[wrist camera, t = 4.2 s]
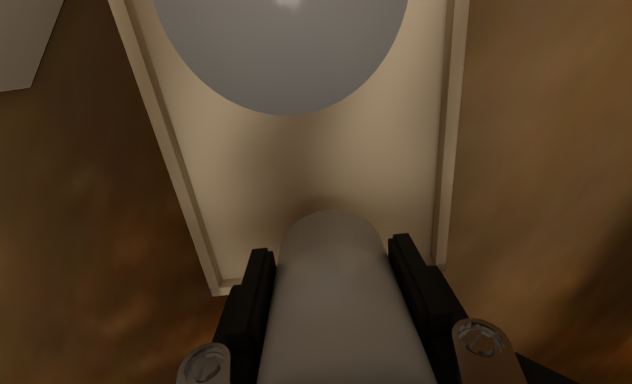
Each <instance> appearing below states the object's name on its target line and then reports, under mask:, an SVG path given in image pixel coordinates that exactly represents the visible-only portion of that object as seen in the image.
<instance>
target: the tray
mask: <svg viewBox="0 0 632 384" xmlns="http://www.w3.org/2000/svg"><path fill="white" fill-rule="evenodd" d="M469 1H470V0H408V3H407V7H406V11H405V14H404V18H403V21H402V24H401V27H400V29H399V32H398V34H397V36H396V39H395V41H394V43H393V45H392V47H391V48H390V50H389V52H388V54H387V56H386V57H385V59H384V60H383V61H382V63H381V64H380V66H379V67H378V68H377V70H376V71H375V72H374V73H373V74H372V75H371V76H370V78H369V79H368V80H367V81H366V82H365V83H364V84H363V85H361V86H360V87H359V88H358V89H357V90H356V91H354V92H353V93H352V94H350V95H349V96H347V97H346V98H344V99H343V100H341V101H339V102H337V103H335V104H333V105H331V106H329V107H327V108H324V109H321V110H318V111H315V112H311V113H306V114H301V115H286V116H284V115H270V114H265V113H261V112H256V111H253V110H250V109H247V108H244V107H241V106H239V105H237V104H235V103H233V102H231V101H229V100H227V99H226V98H224V97H222V96H221V95H219V94H218V93H216V92H215V91H213V90H212V89H211V88H210V87H208V86H207V85H206V84H205V83H204V82H202V81H201V80H200V79H199V78H198V77H197V76H196V75H195V74H194V73H193V72H192V71H191V70H190V69H189V67H188V66H187V65H186V64H185V62H184V61H183V60H182V58H181V57H180V56H179V55H178V53H177V52H176V50H175V48H174V47H173V45H172V43H171V42H170V40H169V39H168V37H167V35H166V33H165V31H164V29H163V27H162V24H161V22H160V20H159V18H158V15H157V12H156V9H155V7H154V4H153V1H152V0H108V2H109V5H110V7H111V10H112V13H113V16H114V19H115V22H116V24H117V27H118V30H119V33H120V36H121V39H122V41H123V44H124V47H125V50H126V53H127V56H128V58H129V61H130V64H131V67H132V70H133V73H134V75H135V78H136V81H137V84H138V87H139V90H140V93H141V95H142V98H143V101H144V104H145V107H146V110H147V112H148V115H149V118H150V121H151V124H152V127H153V129H154V132H155V135H156V138H157V141H158V144H159V146H160V149H161V152H162V155H163V158H164V161H165V163H166V166H167V169H168V172H169V175H170V178H171V180H172V183H173V186H174V189H175V192H176V195H177V197H178V200H179V203H180V206H181V209H182V212H183V215H184V217H185V220H186V223H187V226H188V229H189V232H190V234H191V237H192V240H193V243H194V246H195V249H196V251H197V254H198V257H199V260H200V263H201V266H202V268H203V271H204V274H205V277H206V280H207V283H208V285H209V288H210V291H211V294H212V296H222V295H229V293H230V290H231V288H232V286H233V285H239V284H241V283H242V280H243V276H244V273H245V270H246V267H247V264H248V261H249V257H250V254H251V251H252V249H257V248H267V249H268V251H273V254H274V258H275V263H276V267H277V261H278V255H279V250H280V245H281V242H282V239H283V237H284V236H285V234H286V232H287V231H288V230H289V228H290V227H291V226H292V225H293V224H295V223H296V222H297V221H298V220H300V219H302V218H303V217H305V216H307V215H310V214H312V213H315V212H319V211H325V210H342V211H347V212H351V213H354V214H356V215H358V216H361V217H362V218H364V219H365V220H367V221H368V222H369V223H371V224H372V225H373V226H374V228H375V229H376V230H377V232H378V233H379V235H380V237H381V239H382V242H383V244H384V247H385V249H386V252H387V254H388V239H389V238H393V234H400V233H409V235H410V237H411V238H412V240H413V242H414V244H415V246H416V247H417V249H418V251H419V253H420V255H421V256H422V258H423V260H424V262H425V264H426V265H436V266H437V267H438V268H439V269H440V271H441V272H442V271H445V266H446V255H447V244H448V233H449V222H450V211H451V200H452V189H453V178H454V167H455V156H456V145H457V134H458V123H459V112H460V101H461V90H462V79H463V67H464V56H465V45H466V34H467V23H468V12H469Z"/></svg>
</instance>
